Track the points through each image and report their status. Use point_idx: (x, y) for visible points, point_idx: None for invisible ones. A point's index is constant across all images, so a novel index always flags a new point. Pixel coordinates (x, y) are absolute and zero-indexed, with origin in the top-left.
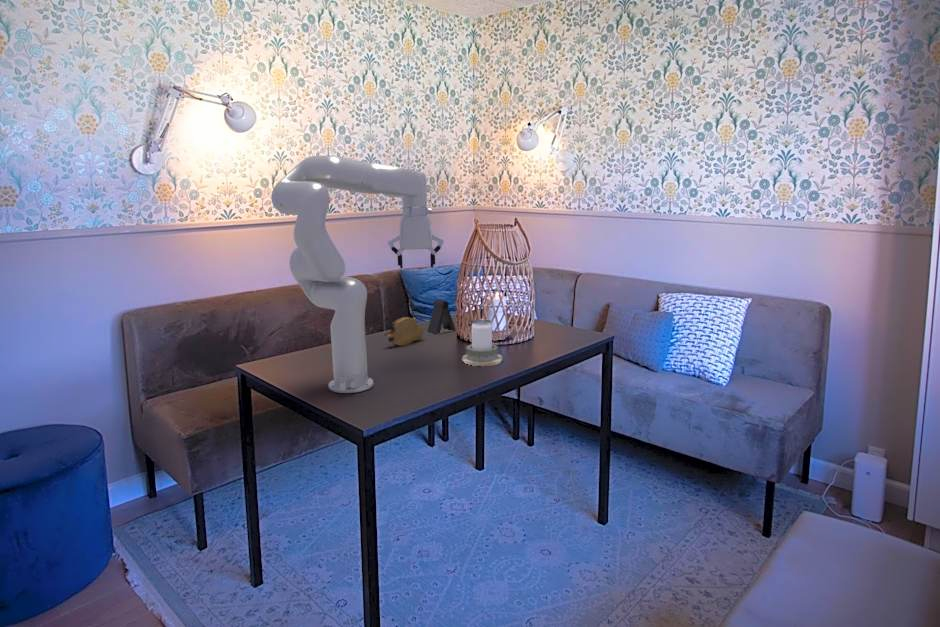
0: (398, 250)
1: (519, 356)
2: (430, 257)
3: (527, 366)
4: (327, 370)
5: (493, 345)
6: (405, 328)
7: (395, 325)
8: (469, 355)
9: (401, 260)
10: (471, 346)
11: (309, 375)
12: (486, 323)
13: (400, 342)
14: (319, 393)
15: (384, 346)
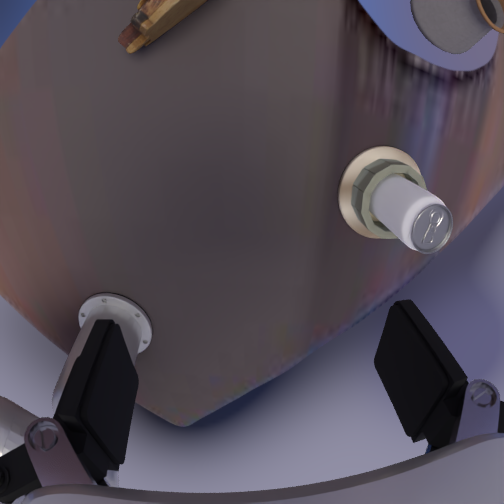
0: (49, 475)
1: (451, 175)
2: (421, 379)
3: None
4: (40, 233)
5: None
6: (184, 6)
7: (146, 32)
8: (358, 215)
9: (123, 434)
10: (375, 184)
11: (25, 261)
12: (436, 249)
13: (172, 25)
14: None
15: None
